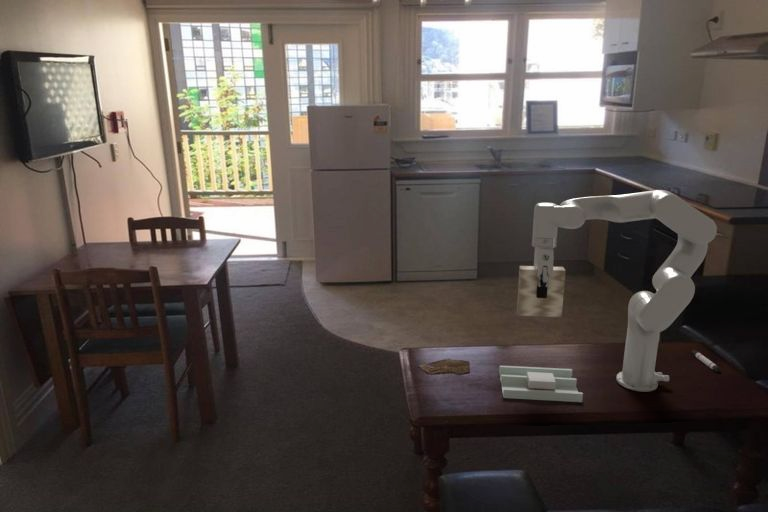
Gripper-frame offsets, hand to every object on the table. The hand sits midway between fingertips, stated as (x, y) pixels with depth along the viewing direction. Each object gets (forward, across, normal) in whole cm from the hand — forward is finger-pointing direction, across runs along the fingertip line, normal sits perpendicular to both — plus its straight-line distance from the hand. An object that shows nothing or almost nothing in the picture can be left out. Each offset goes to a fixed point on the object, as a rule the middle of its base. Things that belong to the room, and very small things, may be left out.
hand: (540, 294), depth 182 cm
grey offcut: (+26, -13, 0) cm, 29 cm away
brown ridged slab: (+30, +3, +27) cm, 40 cm away
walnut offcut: (+28, -13, 0) cm, 31 cm away
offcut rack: (+29, -10, 0) cm, 31 cm away
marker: (+30, +17, -62) cm, 71 cm away
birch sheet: (+7, 0, 0) cm, 7 cm away
